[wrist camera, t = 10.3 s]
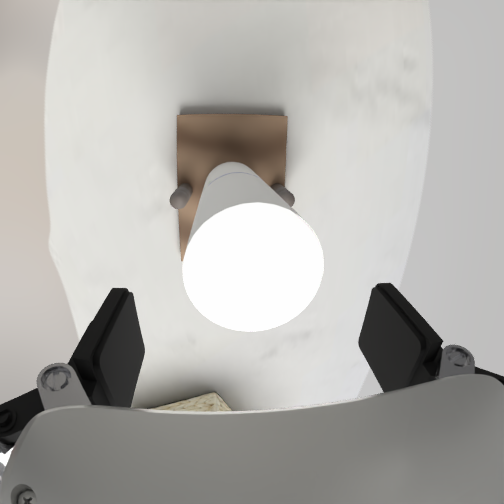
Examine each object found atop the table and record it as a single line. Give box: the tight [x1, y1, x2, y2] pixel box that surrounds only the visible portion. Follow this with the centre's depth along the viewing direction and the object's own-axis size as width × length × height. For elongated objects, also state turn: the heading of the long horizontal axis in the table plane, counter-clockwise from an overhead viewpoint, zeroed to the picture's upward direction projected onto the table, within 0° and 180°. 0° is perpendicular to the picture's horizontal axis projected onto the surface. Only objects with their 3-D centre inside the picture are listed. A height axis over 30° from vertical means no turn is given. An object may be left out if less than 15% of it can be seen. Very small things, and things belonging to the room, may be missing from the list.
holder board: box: [170, 114, 295, 261], centre depth 36 cm, size 20×14×8 cm
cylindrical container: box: [182, 162, 324, 332], centre depth 26 cm, size 7×7×25 cm
